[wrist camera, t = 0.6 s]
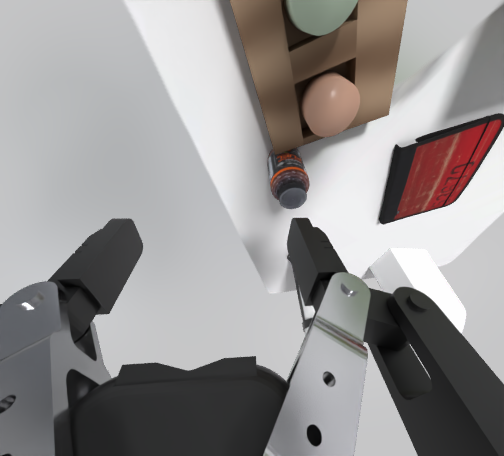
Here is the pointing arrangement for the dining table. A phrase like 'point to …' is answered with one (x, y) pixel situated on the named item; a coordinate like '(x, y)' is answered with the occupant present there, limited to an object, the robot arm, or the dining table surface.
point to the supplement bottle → (288, 178)
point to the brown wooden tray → (318, 61)
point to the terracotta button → (329, 104)
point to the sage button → (318, 14)
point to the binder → (437, 167)
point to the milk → (418, 280)
